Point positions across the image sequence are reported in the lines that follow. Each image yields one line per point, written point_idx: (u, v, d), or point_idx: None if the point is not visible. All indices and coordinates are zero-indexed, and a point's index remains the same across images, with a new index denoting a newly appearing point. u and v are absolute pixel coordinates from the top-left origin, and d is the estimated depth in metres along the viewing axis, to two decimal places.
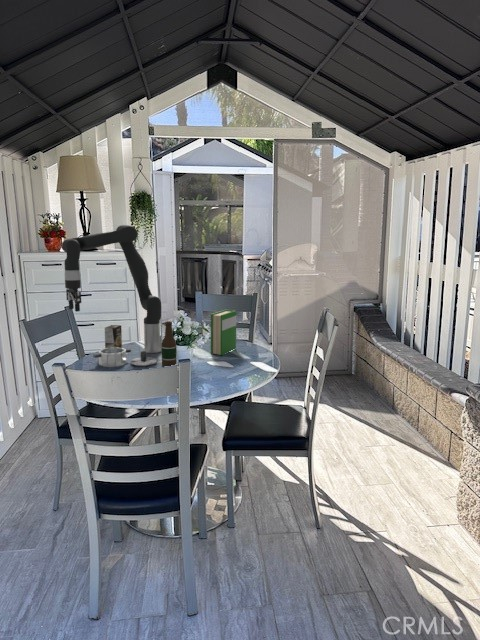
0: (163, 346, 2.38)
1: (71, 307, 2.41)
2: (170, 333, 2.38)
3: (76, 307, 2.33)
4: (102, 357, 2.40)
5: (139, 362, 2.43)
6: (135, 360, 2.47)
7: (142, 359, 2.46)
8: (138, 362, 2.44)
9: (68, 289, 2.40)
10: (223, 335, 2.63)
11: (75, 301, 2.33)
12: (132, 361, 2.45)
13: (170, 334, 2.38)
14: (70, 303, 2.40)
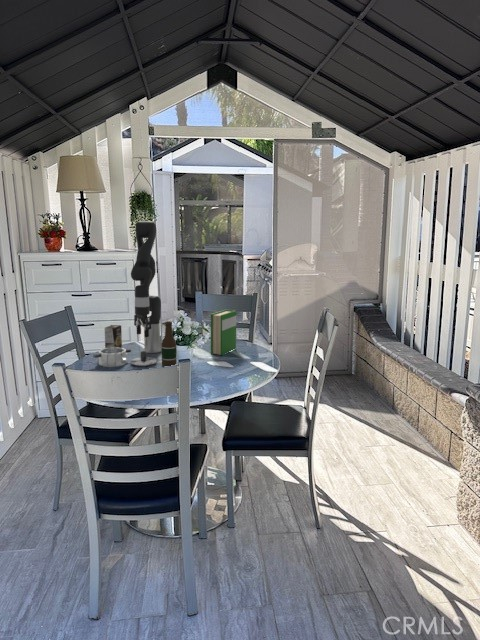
0: (163, 346, 2.38)
1: (139, 332, 2.47)
2: (170, 333, 2.38)
3: (146, 333, 2.40)
4: (102, 357, 2.40)
5: (139, 362, 2.43)
6: (135, 360, 2.47)
7: (142, 359, 2.46)
8: (138, 362, 2.44)
9: (136, 315, 2.47)
10: (223, 335, 2.63)
11: (145, 327, 2.39)
12: (132, 361, 2.45)
13: (170, 334, 2.38)
14: (138, 328, 2.47)
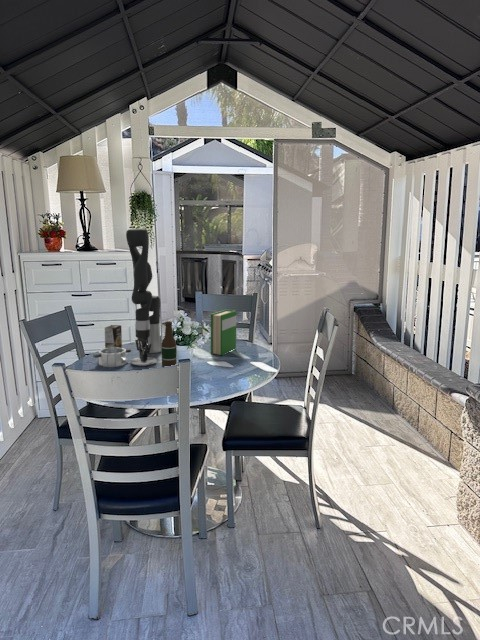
0: (163, 346, 2.38)
1: None
2: (170, 333, 2.38)
3: (144, 356, 2.44)
4: (102, 357, 2.40)
5: (139, 362, 2.43)
6: (135, 360, 2.47)
7: (142, 359, 2.46)
8: (138, 362, 2.43)
9: (137, 339, 2.49)
10: (223, 335, 2.63)
11: None
12: (132, 361, 2.45)
13: (170, 334, 2.38)
14: None
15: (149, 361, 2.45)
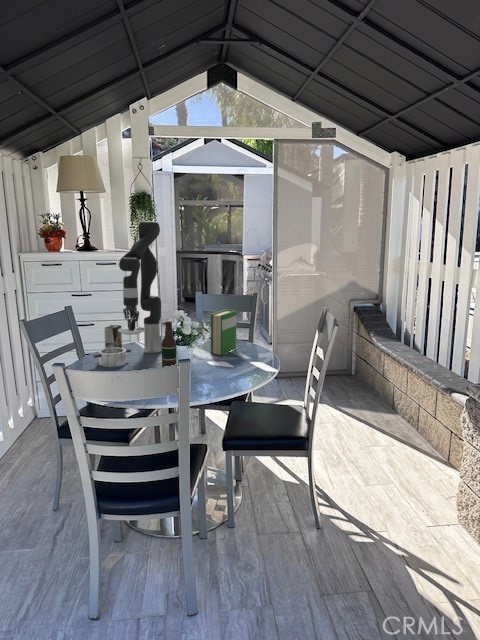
0: (163, 346, 2.38)
1: None
2: (170, 333, 2.38)
3: (132, 325, 2.41)
4: (102, 357, 2.40)
5: (127, 330, 2.39)
6: (123, 329, 2.43)
7: (130, 327, 2.42)
8: (126, 330, 2.40)
9: (125, 308, 2.45)
10: (223, 335, 2.63)
11: (132, 320, 2.40)
12: (120, 329, 2.41)
13: (170, 334, 2.38)
14: None
15: (137, 330, 2.41)
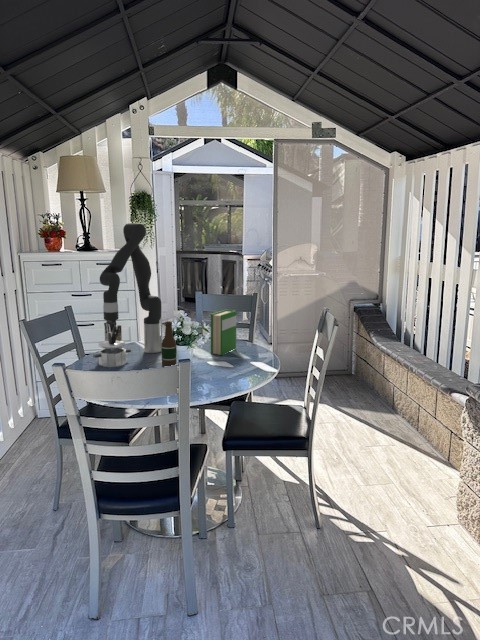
0: (163, 346, 2.38)
1: None
2: (170, 333, 2.38)
3: (112, 339, 2.42)
4: (102, 357, 2.40)
5: (107, 345, 2.41)
6: (103, 343, 2.45)
7: (110, 342, 2.43)
8: (106, 344, 2.41)
9: (106, 322, 2.47)
10: (223, 335, 2.63)
11: None
12: (100, 344, 2.43)
13: (170, 334, 2.38)
14: None
15: (117, 344, 2.43)
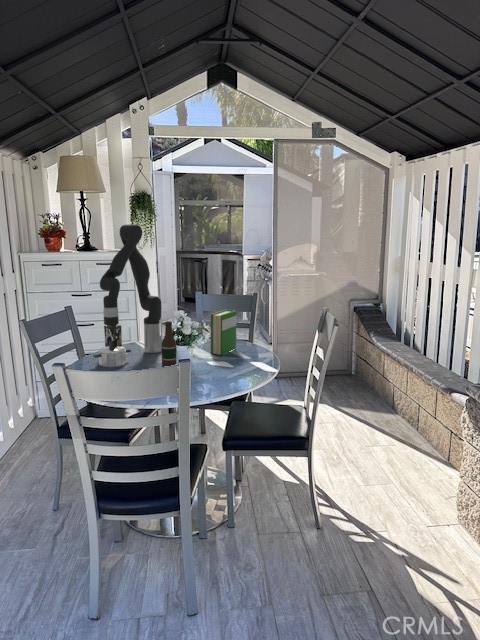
0: (163, 346, 2.38)
1: None
2: (170, 333, 2.38)
3: (114, 344, 2.41)
4: (102, 357, 2.40)
5: (107, 351, 2.41)
6: (104, 349, 2.45)
7: (110, 348, 2.44)
8: (106, 350, 2.42)
9: (106, 325, 2.47)
10: (223, 335, 2.63)
11: (113, 338, 2.40)
12: (100, 350, 2.43)
13: (170, 334, 2.38)
14: (108, 339, 2.46)
15: (117, 350, 2.43)
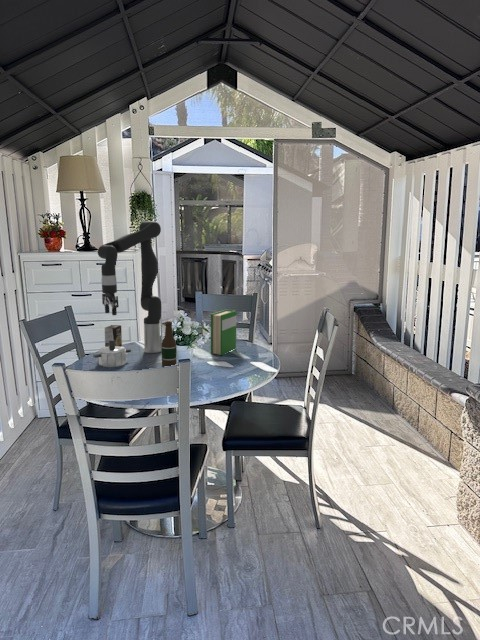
0: (163, 346, 2.38)
1: (107, 311, 2.48)
2: (170, 333, 2.38)
3: (113, 311, 2.40)
4: (102, 357, 2.40)
5: (107, 351, 2.41)
6: (104, 349, 2.45)
7: (110, 348, 2.44)
8: (106, 350, 2.42)
9: (104, 293, 2.47)
10: (223, 335, 2.63)
11: (112, 305, 2.40)
12: (100, 350, 2.43)
13: (170, 334, 2.38)
14: (106, 307, 2.47)
15: (117, 350, 2.43)
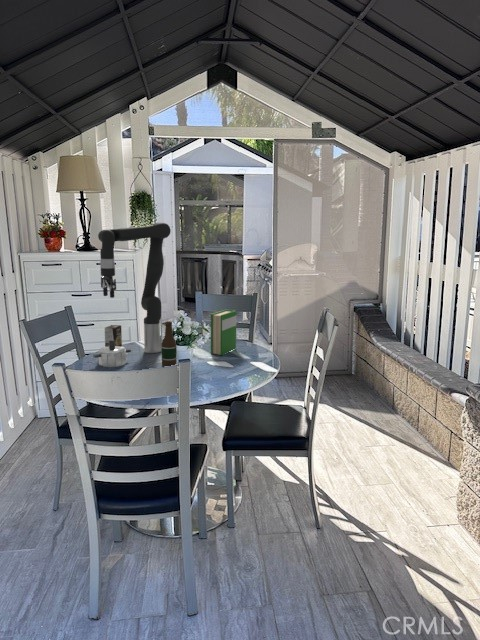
0: (163, 346, 2.38)
1: (105, 294, 2.56)
2: (170, 333, 2.38)
3: (111, 293, 2.49)
4: (102, 357, 2.40)
5: (107, 351, 2.41)
6: (104, 349, 2.45)
7: (110, 348, 2.44)
8: (106, 350, 2.42)
9: (103, 277, 2.55)
10: (223, 335, 2.63)
11: (110, 288, 2.48)
12: (100, 350, 2.43)
13: (170, 334, 2.38)
14: (104, 290, 2.55)
15: (117, 350, 2.43)
